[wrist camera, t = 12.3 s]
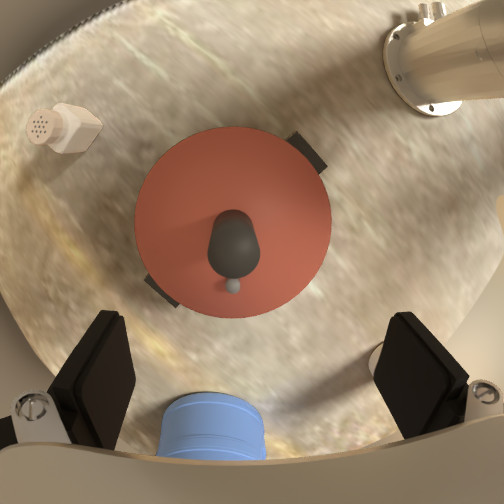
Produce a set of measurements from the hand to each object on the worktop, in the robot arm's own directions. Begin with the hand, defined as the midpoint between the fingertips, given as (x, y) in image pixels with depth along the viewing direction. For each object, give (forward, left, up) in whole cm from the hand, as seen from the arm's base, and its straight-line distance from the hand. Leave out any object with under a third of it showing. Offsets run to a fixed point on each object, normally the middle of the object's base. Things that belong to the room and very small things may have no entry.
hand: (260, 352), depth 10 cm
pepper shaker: (-9, -17, -25) cm, 32 cm away
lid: (0, -1, -18) cm, 18 cm away
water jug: (+33, -4, -25) cm, 41 cm away
